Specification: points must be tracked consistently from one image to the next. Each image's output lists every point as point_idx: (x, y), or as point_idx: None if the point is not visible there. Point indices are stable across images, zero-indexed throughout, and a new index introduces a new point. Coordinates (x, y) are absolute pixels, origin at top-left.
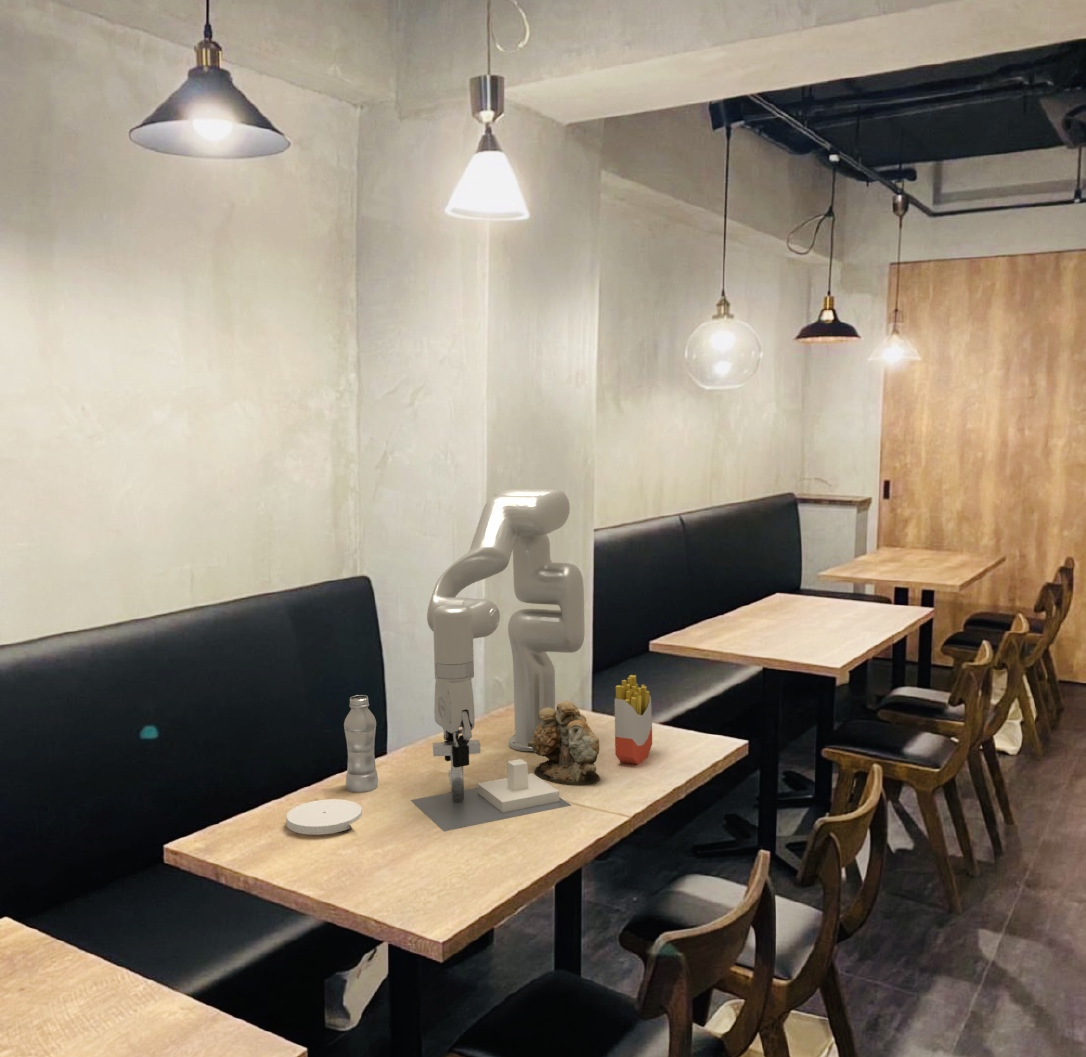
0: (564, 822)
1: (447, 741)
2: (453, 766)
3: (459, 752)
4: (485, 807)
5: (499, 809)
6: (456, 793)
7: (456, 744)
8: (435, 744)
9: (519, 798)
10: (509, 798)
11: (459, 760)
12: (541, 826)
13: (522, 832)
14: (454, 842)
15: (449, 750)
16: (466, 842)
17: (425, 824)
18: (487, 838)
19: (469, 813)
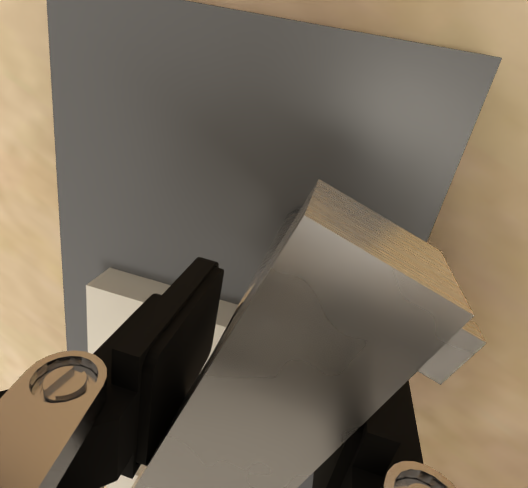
0: (39, 349)
1: (359, 449)
2: (215, 261)
3: (109, 345)
4: (181, 258)
5: (134, 275)
6: (283, 225)
7: (25, 378)
8: (363, 291)
9: (92, 342)
10: (107, 323)
11: (146, 303)
12: (39, 297)
13: (21, 236)
14: (29, 5)
15: (227, 333)
16: (14, 45)
17: (250, 4)
18: (19, 127)
19: (160, 178)
